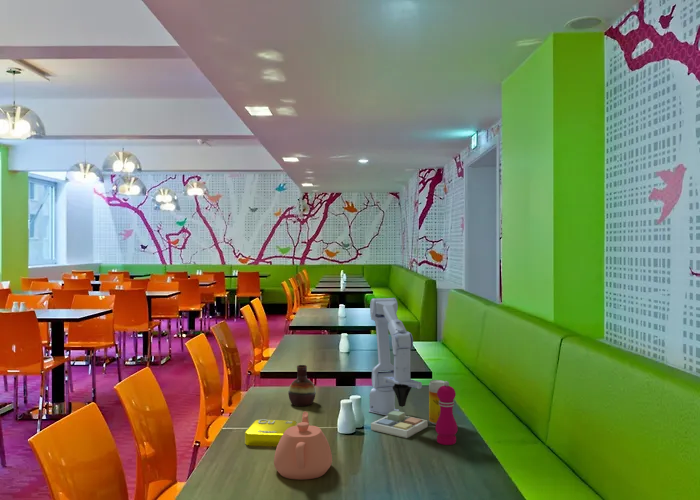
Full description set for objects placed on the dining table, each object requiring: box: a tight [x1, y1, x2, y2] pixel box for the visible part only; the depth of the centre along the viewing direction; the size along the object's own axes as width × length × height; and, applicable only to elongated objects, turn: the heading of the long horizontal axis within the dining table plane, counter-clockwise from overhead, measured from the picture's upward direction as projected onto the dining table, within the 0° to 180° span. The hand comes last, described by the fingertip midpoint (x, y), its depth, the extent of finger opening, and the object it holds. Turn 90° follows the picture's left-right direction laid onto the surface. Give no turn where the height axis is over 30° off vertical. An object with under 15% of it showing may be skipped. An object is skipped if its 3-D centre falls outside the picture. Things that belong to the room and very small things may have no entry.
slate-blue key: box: [377, 419, 395, 427], centre depth 199 cm, size 4×4×2 cm
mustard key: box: [394, 422, 412, 430], centre depth 195 cm, size 4×4×2 cm
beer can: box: [428, 379, 445, 426], centre depth 206 cm, size 6×6×15 cm
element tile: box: [244, 418, 298, 448], centre depth 190 cm, size 15×15×5 cm
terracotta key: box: [404, 416, 423, 426], centre depth 200 cm, size 4×4×2 cm
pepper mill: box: [434, 380, 459, 446], centre depth 186 cm, size 7×7×20 cm
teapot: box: [273, 411, 333, 480], centre depth 165 cm, size 25×17×13 cm
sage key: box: [388, 410, 406, 422], centre depth 205 cm, size 4×4×2 cm
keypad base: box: [370, 415, 429, 439], centre depth 200 cm, size 14×14×2 cm
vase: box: [288, 364, 316, 407], centre depth 231 cm, size 11×11×15 cm
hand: (402, 405), depth 199 cm, fingers closed
